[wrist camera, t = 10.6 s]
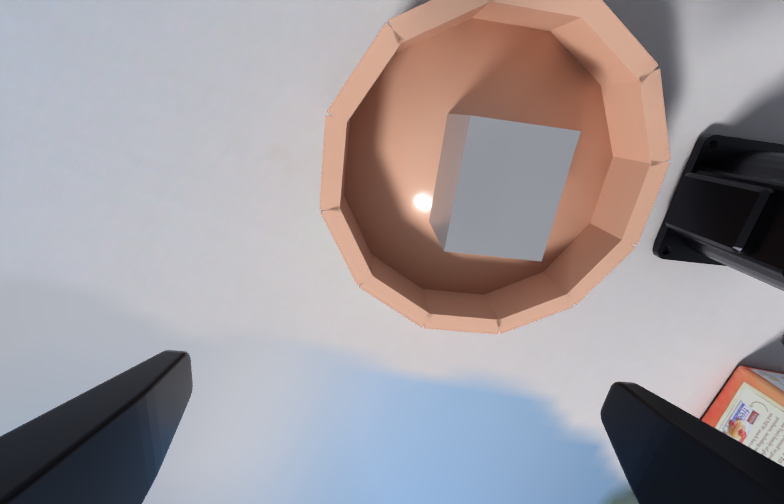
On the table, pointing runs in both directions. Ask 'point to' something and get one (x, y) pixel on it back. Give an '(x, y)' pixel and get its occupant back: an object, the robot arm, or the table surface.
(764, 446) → the cracker box
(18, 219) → the table surface
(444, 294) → the bowl
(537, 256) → the grey rectangular prism
